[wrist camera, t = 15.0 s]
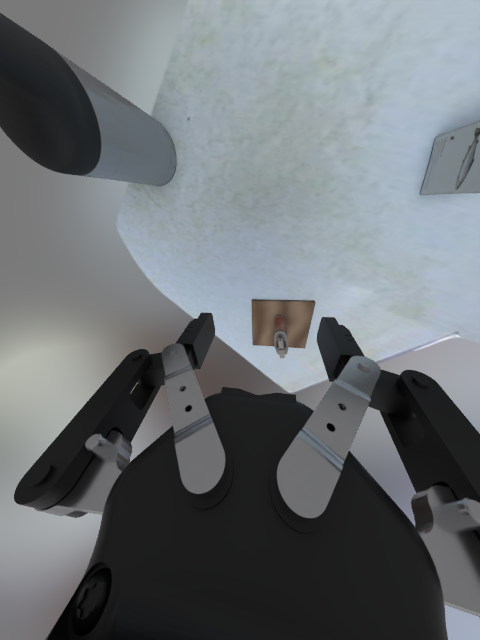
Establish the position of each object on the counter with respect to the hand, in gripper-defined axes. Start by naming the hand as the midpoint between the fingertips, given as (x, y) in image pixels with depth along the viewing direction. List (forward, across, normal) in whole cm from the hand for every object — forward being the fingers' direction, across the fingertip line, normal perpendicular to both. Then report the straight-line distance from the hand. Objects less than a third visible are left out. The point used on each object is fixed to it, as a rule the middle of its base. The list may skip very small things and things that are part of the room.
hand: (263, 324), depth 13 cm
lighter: (+30, -4, +22) cm, 37 cm away
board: (+30, -4, +22) cm, 37 cm away
